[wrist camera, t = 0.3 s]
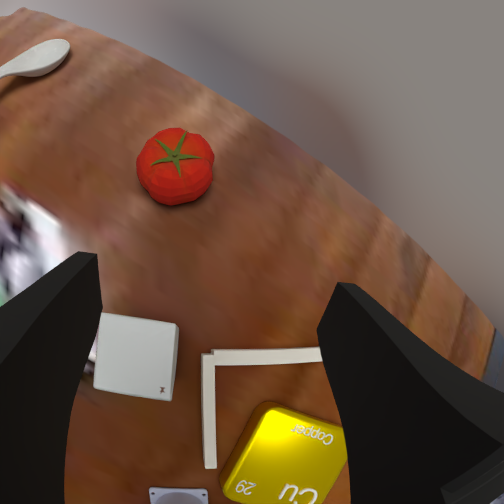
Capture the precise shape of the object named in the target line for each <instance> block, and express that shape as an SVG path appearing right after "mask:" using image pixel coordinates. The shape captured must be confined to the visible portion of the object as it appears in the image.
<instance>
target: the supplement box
mask: <svg viewBox="0 0 504 504" xmlns="http://www.w3.org/2000/svg"><path fill="white" fill-rule="evenodd" d="M178 337H179V328H178V326H177V325H176V324H174V323H168V322H162V321H157V320H151V319H145V318H138V317H131V316H124V315H117V314H110V313H101V317H100V325H99V334H98V342H97V351H96V361H95V372H94V385H93V386H94V388H96V389H100V390H105V391H110V392H115V393H121V394H126V395H131V396H137V397H145V398H151V399H158V400H165V401H171V400H172V393H173V387H174V381H175V372H176V363H177V352H178Z"/></svg>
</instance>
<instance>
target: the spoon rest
mask: <svg viewBox="0 0 504 504" xmlns="http://www.w3.org/2000/svg"><path fill="white" fill-rule="evenodd" d="M69 49H70V44H69V42H67V41H66V40H63V39H53V40H48V41H45V42H42V43H40V44H38V45H36V46H34V47H32V48H30V49H29V50H27V51H25V52H24V53H22V54H21V55H19V56H17V57H16V58H14V59H12V60H11V61H9V62H8V63H6V64H4V65H3V66H1V67H0V79H1V78H3V77H6V76H13V75H16V76H27V77H36V76H42V75H45V74H47V73H49V72H50V71H52V70H53V69H55V68H56V67H57V66H58V65H60V64H61V63H62V61H63V60H64V59H65V57H66V56H67V54H68V52H69Z"/></svg>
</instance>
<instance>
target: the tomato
mask: <svg viewBox="0 0 504 504" xmlns="http://www.w3.org/2000/svg"><path fill="white" fill-rule="evenodd" d="M213 162H214V153H213V151H212V149H211V147H210V145H209V144H208V142H207V141H206V140H205V139H204V138H203V137H202V136H201V135H199V134H193V133H189V132H187V131H185V130H183V129H181V128H168V129H165V130H162V131H160V132H158V133H157V134H156V135H155V136H153V137H152V138H151V139H149V140H148V141H147V142H146V144H145V146H144V148H143V149H142V151H141V153H140V154H139V156H138V157H137V161H136V166H137V175H138V178H139V180H140V183H141V185H142V186H143V187H144V188H145V189H146V190H147V191H148V192H149V194H150V196H151V197H152V198H153V199H155V200H156V201H158V202H159V203H163V204H167V205H170V206H171V205H176V204H181V203H185V202H190V201H194V200H196V199H197V198H198V197H200V196H201V195H202V194H204V193H205V191H206V190H207V188H208V187H209V185H210V184H211V182H212V181H213V178H212V166H213Z"/></svg>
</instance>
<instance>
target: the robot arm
mask: <svg viewBox="0 0 504 504" xmlns="http://www.w3.org/2000/svg"><path fill="white" fill-rule="evenodd" d="M102 309H103V306H102V298H101V290H100V281H99V271H98V259H97V254H94V253H87V252H80V251H78V252H77V253H75V254H73V255H72V256H70V257H69V258H67V259H66V260H65V261H63V262H62V263H60V264H59V265H58V266H56V267H55V268H54V269H52V270H51V271H49V272H48V273H47V274H45V275H44V276H43V277H41V278H40V279H39V280H37V281H36V282H35V283H33V284H32V285H31V286H29V287H28V288H26V289H25V290H24V291H22V292H21V293H19V294H18V295H16V296H15V297H14V298H12V299H11V300H10V301H8V302H7V303H5V304H4V305H3V306H1V307H0V504H65V501H64V469H65V454H66V444H67V435H68V428H69V422H70V416H71V410H72V406H73V402H74V398H75V395H76V391H77V388H78V385H79V382H80V379H81V376H82V373H83V370H84V368H85V365H86V362H87V359H88V356H89V354H90V351H91V348H92V345H93V342H94V340H95V337H96V333H97V329H98V325H99V321H100V317H101V313H102ZM317 335H318V342H319V347H320V353H321V357H322V361H323V364H324V367H325V370H326V374H327V377H328V380H329V383H330V386H331V389H332V392H333V395H334V399H335V402H336V405H337V408H338V411H339V415H340V418H341V422H342V426H343V432H344V438H345V444H346V450H347V458H348V466H349V476H350V493H351V504H504V393H503V392H501V391H498V390H496V389H494V388H492V387H490V386H488V385H486V384H485V383H483V382H481V381H479V380H478V379H476V378H474V377H473V376H471V375H469V374H467V373H466V372H464V371H463V370H461V369H460V368H458V367H457V366H455V365H454V364H452V363H451V362H449V361H448V360H447V359H445V358H444V357H442V356H441V355H440V354H438V353H437V352H436V351H434V350H433V349H432V348H430V347H429V346H428V345H427V344H426V343H424V342H423V341H422V340H421V339H419V338H418V337H417V336H416V335H415V334H413V333H412V332H411V331H410V330H409V329H408V328H406V327H405V326H404V325H403V324H402V323H401V322H400V321H398V320H397V319H396V318H395V317H394V316H393V315H392V314H390V313H389V312H388V311H387V310H386V309H385V308H384V307H383V306H381V305H380V304H379V303H378V302H377V301H376V300H375V299H373V298H372V297H371V296H370V295H369V294H367V293H366V292H365V291H364V290H362V289H361V288H360V287H358V286H357V285H355V284H352V283H342V282H337V285H336V287H335V289H334V292H333V294H332V296H331V299H330V301H329V303H328V305H327V308H326V310H325V312H324V314H323V316H322V319H321V321H320V323H319V325H318V327H317ZM152 492H154V493H155V494H152ZM149 494H150V501H151V504H208V493H207V490H206V489H204V488H201V489H187V488H159V487H150V488H149ZM202 494H205V495H202Z"/></svg>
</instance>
